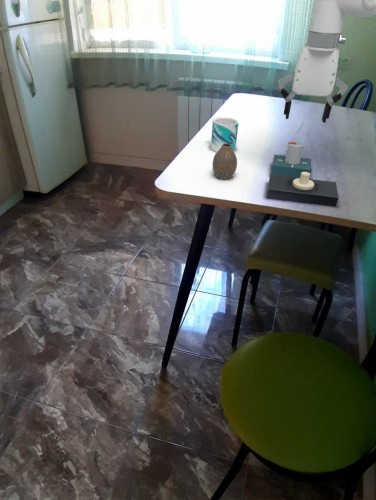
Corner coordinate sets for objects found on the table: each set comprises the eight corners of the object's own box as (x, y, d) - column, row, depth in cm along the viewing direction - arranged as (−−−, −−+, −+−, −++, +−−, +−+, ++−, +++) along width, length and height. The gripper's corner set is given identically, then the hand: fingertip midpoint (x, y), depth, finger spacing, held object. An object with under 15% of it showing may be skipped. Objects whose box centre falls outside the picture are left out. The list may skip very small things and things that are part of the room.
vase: (214, 181, 115) (217, 149, 109) (209, 172, 120) (211, 140, 114) (238, 181, 116) (242, 149, 110) (232, 171, 121) (235, 140, 115)
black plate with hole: (333, 190, 114) (335, 181, 112) (335, 206, 107) (338, 197, 105) (268, 183, 116) (270, 174, 114) (266, 198, 109) (268, 189, 107)
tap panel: (308, 168, 125) (311, 157, 123) (309, 180, 119) (311, 169, 117) (272, 164, 126) (274, 153, 124) (271, 175, 120) (273, 165, 118)
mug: (208, 150, 133) (210, 123, 127) (214, 139, 141) (217, 112, 136) (233, 153, 132) (236, 125, 126) (238, 141, 140) (241, 115, 135)
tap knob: (299, 159, 122) (304, 141, 118) (300, 165, 119) (304, 146, 115) (284, 158, 122) (288, 139, 119) (284, 163, 119) (288, 144, 116)
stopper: (311, 190, 113) (316, 170, 109) (311, 199, 109) (317, 179, 105) (290, 187, 114) (295, 168, 110) (290, 196, 110) (295, 176, 106)
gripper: (357, 41, 99) (336, 118, 111) (285, 36, 101) (272, 112, 112) (361, 46, 94) (339, 127, 105) (285, 40, 95) (272, 120, 107)
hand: (305, 119), depth 109 cm, fingers open, 9 cm apart
